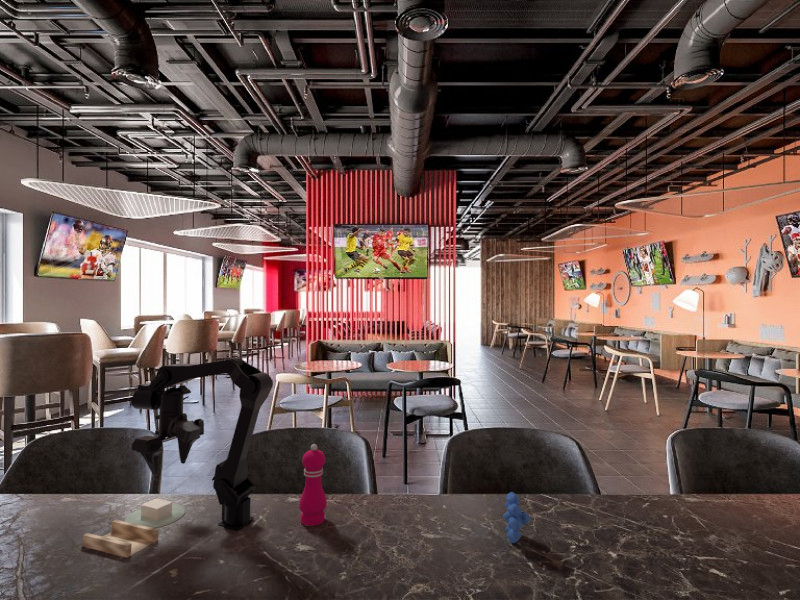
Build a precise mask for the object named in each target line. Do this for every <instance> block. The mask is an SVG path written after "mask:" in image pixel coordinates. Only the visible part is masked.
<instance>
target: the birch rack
mask: <svg viewBox="0 0 800 600" xmlns="http://www.w3.org/2000/svg"><path fill="white" fill-rule="evenodd" d="M158 541H159V528H151V527H146V526H142V525H137V524H133V523H128V522H125V520H124V521H123V520H119V519H115V520H112V521H111V531H110V532H108V533H107V534H104V535H103V536H101V535H97V534H93V533H89V532H86V533H84V534H82V544H81V545H82V547H83V548H88V549H92V550H96V551H99V552H103V553H107V554H111V555H115V556H119V557H123V558H129V557H131V556H133V555H135V554H137V553H138V552H140V551H142V550H144V549H145V548H147V547H148V546H151V545H152V544H154V543H155V542H158Z"/></svg>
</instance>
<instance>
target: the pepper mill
mask: <svg viewBox="0 0 800 600" xmlns="http://www.w3.org/2000/svg"><path fill="white" fill-rule="evenodd" d="M301 461H302V462H301V463H302V466H303V467H304V469H303V476H305V482H304V484H305V485H304V488H303V491H302V493H301V496H300V499H299V503H298V508H299V511H300V512H301V514H300V523H301V524H302V525H303V524H304V525H303V526H306V525H308V526H307V527H315V526H318V525H321V524H323V523H324V521H325V517H326V513H325V509H326V508H327V506H328V505H327V503H328V502H327V500H328V499H327V496H326V493H325V490H324V489H323V485H322V475H323V474H324V467H323V466H324V465H325V463H326V456H325V454H324V452H323V451H322V450H320V449H318V445H317V444H316V443H313V444H311V446H310V450H307V451H306V452H305V453H304V454H303V456H302V460H301ZM314 525H315V526H314Z"/></svg>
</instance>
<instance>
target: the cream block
mask: <svg viewBox="0 0 800 600" xmlns="http://www.w3.org/2000/svg"><path fill="white" fill-rule="evenodd" d="M172 504H173V502H172V501H169V500H165V499H161V498H154V499H152V500H150V501H147V502H145V503H142V504H141V505H140V509H141V517H145V518H149V519H152V520H156V521H157V520H159V519H161V518H163V517H166V516H168V515H170V514H172Z"/></svg>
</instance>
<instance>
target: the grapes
mask: <svg viewBox="0 0 800 600" xmlns="http://www.w3.org/2000/svg"><path fill="white" fill-rule="evenodd" d="M505 500H506V502H505V503H504V506H505V508H506V509H507V510H506V511H505V513H504V514H503V516H502V518H503V520H504V521H506V524H507V525H506V527H505V528H504V529H505V531H506V532H507V533H506V535H505V537H506V538H507V540H508V541H509V542H510V543H512V544H516V543H517V542H518V541H519V540H520V539H521V537H522V533H521V532H520V530H521V529H522V527H523V526H526V525H528V524H529V523H530V521H531V520H532V517H531V516H530V514H529V513H528V512H526V511H524V510H523V509H522V508H521V507H520V505H519V504H520V503H521V499H520V498H519V496H518V495H517V494H516V493H515V492H513V491H510V492H508V493H507V495H506V496H505Z"/></svg>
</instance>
